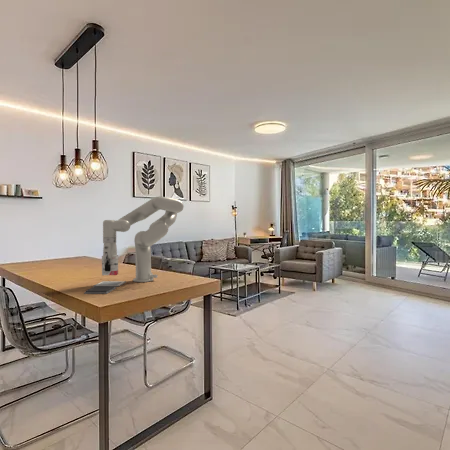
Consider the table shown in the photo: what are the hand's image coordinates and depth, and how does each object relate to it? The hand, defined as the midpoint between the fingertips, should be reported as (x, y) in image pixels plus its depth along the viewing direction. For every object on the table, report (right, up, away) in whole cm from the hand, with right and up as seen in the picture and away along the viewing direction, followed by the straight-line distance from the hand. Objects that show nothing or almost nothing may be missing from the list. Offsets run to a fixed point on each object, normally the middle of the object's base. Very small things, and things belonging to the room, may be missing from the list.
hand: (109, 270), depth 182 cm
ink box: (0, -3, 0) cm, 3 cm away
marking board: (0, -9, 0) cm, 9 cm away
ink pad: (+2, -9, -18) cm, 20 cm away
